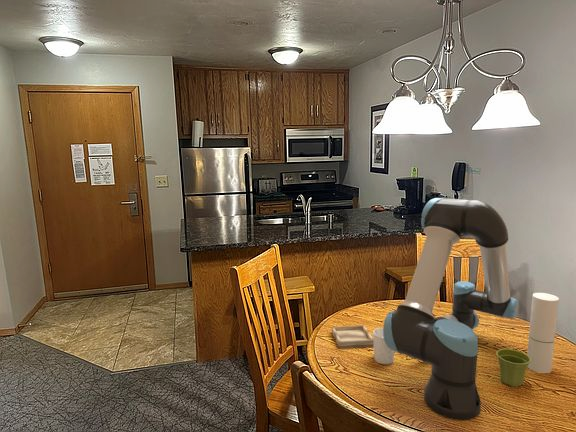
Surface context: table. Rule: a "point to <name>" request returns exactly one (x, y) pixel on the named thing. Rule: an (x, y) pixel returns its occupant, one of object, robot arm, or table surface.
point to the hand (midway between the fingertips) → (400, 338)
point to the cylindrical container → (542, 332)
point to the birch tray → (352, 336)
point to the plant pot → (512, 366)
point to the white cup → (381, 348)
